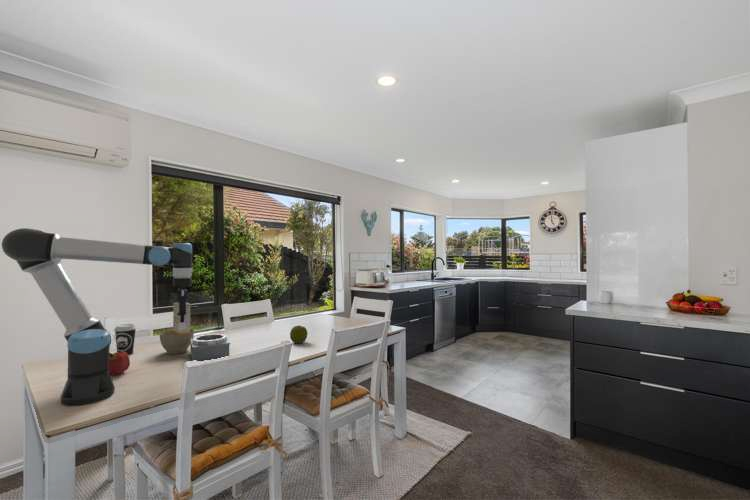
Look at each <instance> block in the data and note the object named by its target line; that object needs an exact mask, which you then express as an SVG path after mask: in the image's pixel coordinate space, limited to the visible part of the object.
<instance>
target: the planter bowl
mask: <svg viewBox="0 0 750 500" xmlns="http://www.w3.org/2000/svg"><path fill="white" fill-rule="evenodd" d="M194 333H195V329H194V328H190V333H184V334H178V333H176V332H173V328H172V329H168V330H163V331H161V332H159V333H158V335H159V341H160V345H161V346H162V348H163V349H164V351H165V352H166V354H169V355H176V354H183V353H185V352H187V351H188V349H189V347H191V342H190V338H193V337H195V336H194V335H195V334H194Z"/></svg>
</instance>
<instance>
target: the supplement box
mask: <svg viewBox="0 0 750 500" xmlns="http://www.w3.org/2000/svg"><path fill="white" fill-rule="evenodd" d="M172 308H173V310H172V311H173V315H172V316H173V318H172V319H173V320H172V329H173V332H176V333H178V334H184V333H190V329H191V303H189V302H186V329H185V330H178V322H179V315H177V313H179V302H173V307H172Z"/></svg>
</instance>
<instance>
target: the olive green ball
mask: <svg viewBox="0 0 750 500" xmlns="http://www.w3.org/2000/svg"><path fill="white" fill-rule="evenodd" d="M308 333H309V332H308V330H307V328H306V327H305V326H302V325H296V326H293V327H292V328H291V329H290V333H289V338H290V340H291V341H292V343H294V344H298V343H300V344H302V342H303V343H304V342H306V340H307V338H308Z"/></svg>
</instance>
